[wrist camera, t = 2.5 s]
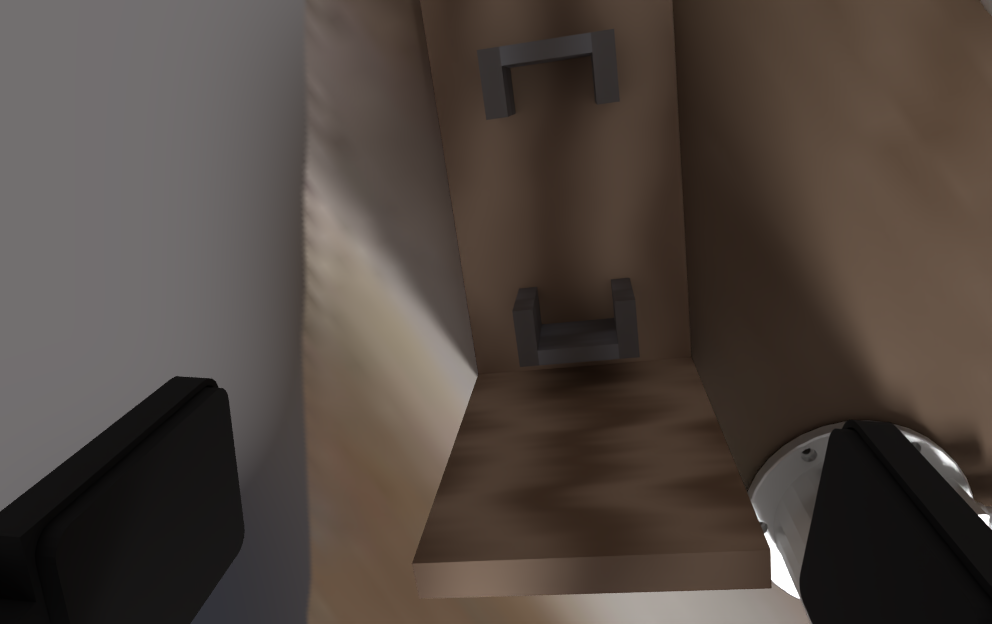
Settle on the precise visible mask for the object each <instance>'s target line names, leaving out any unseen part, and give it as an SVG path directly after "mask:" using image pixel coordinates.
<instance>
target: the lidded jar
mask: <svg viewBox="0 0 992 624" xmlns="http://www.w3.org/2000/svg"><path fill="white" fill-rule="evenodd" d="M980 2H981V3H982V5H983V6H984V8H985V10H986V11H987V12H988V13H989V14H990V15H991V16H992V0H980Z"/></svg>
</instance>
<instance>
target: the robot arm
mask: <svg viewBox="0 0 992 624" xmlns="http://www.w3.org/2000/svg"><path fill="white" fill-rule="evenodd" d="M805 449H807V450H805ZM748 496H749V498H750V501H751V503H752V506H753V508H754V510H755V513H756V515H757V518H758V520H759V523H760V525H761V527H762V530H763V532H764V535H765V537H766V540H767V542H768V544H769V547H770V549H771V581H772V582H773V583H774V584H775V585H777V586H778V587H779V588H781V589H782V590H784V591H785V592H786V593H788V594H789V595H791V596H793V597H795V598H797V599H799V600H801V602H802V605H803V607H804V609H805V612H806V614H807V616H808V619H809V621H810V623H811V624H992V506H989V507H985V506H984V504H982V503H981V502H975V501H974V500H973V494H972V491H971V488H970V486H969V483H968V480H967V478H966V476H965V475H964V473H963V472H962V470H961V469H960V467H959V466H958V464H957V463H956V462H955V461H954V460H953V459H952V458H951V457H950V456H949V455H948V454H947V453H946V452H945V451H944V450H943V449H942V448H941V447H940V446H938V445H937V444H936V443H934V442H933V441H932V440H930V439H929V438H928V437H926V436H924V435H922V434H920V433H918V432H916V431H914V430H912V429H909V428H906V427H903V426H899V425H896V424H892V423H891V422H879V421H869V420H862V421H861V420H848V421H846V422H840V423H836V424H831V425H827V426H822V427H820V428H817V429H815V430H812V431H810V432H807V433H805V434H802V435H800V436H799V437H797V438H795V439H794V440H792V441H790V442H789V443H787V444H786V445H784V446H783V447H781V448H780V449H779V450H778V451H777V452H776V453H775V454H773V455H772V456H771V457H770V458H769V459H768V460H767V461H766V463H765V464H764V465H763V466H762V468H761V469H760V470H759V471H758V473H757V474H756V476H755V478H754V480H753V482H752V484H751V486H750V488H749V490H748ZM243 539H244V521H243V512H242V504H241V496H240V488H239V480H238V472H237V464H236V456H235V447H234V439H233V431H232V423H231V416H230V407H229V400H228V394H227V392H226V390H224V389H223V388H218V385H217V383H216V381H214V380H213V379H209V378H193V377H179V376H176V377H174V378H172V379H170V380H169V381H168V382H167V383H165V384H164V385H163V386H161V387H160V388H159V389H157V390H156V391H155V392H154V393H152V394H151V395H150V396H149V397H147V398H146V399H145V400H143V401H142V402H141V403H140V404H138V405H137V406H136V407H134V408H133V409H132V410H131V411H129V412H128V413H127V414H125V415H124V416H123V417H122V418H120V419H119V420H118V421H116V422H115V423H114V424H112V425H111V426H110V427H109V428H107V429H106V430H105V431H103V432H102V433H101V434H100V435H98V436H97V437H96V438H94V439H93V440H92V441H91V442H89V443H88V444H87V445H85V446H84V447H83V448H82V449H80V450H79V451H78V452H76V453H75V454H74V455H73V456H71V457H70V458H69V459H67V460H66V461H65V462H64V463H62V464H61V465H60V466H58V467H57V468H56V469H55V470H53V471H52V472H51V473H49V474H48V475H47V476H46V477H44V478H43V479H42V480H40V481H39V482H38V483H36V484H35V485H34V486H33V487H31V488H30V489H29V490H28V491H26V492H25V493H24V494H22V495H21V496H20V497H18V498H17V499H16V500H15V501H13V502H12V503H11V504H9V505H8V506H7V507H6V508H4V509H3V510H2V511H1V512H0V624H190V623H191V622H192V620H193V619H194V617H195V616H196V615H197V613H198V611H199V610H200V609H201V607H202V606H203V604H204V603H205V601H206V600H207V598H208V597H209V595H210V594H211V593H212V591H213V590H214V588H215V587H216V585H217V584H218V582H219V581H220V579H221V578H222V576H223V575H224V573H225V572H226V571H227V569H228V568H229V566H230V565H231V563H232V562H233V560H234V559H235V557H236V556H237V554H238V553H239V551H240V549H241V546H242V543H243Z"/></svg>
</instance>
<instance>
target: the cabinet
mask: <svg viewBox="0 0 992 624" xmlns="http://www.w3.org/2000/svg"><path fill="white" fill-rule="evenodd" d="M420 4H421V10H422V17H423V23H424V30H425V36H426V42H427V49H428V55H429V62H430V68H431V74H432V81H433V87H434V94H435V100H436V106H437V113H438V119H439V126H440V132H441V138H442V145H443V151H444V158H445V164H446V170H447V177H448V183H449V190H450V196H451V202H452V209H453V215H454V221H455V228H456V234H457V241H458V247H459V253H460V260H461V266H462V273H463V279H464V285H465V292H466V298H467V305H468V311H469V317H470V324H471V330H472V337H473V343H474V349H475V356H476V362H477V369H478V377H477V380H476V383H475V386H474V389H473V391H472V394H471V397H470V400H469V403H468V406H467V408H466V411H465V414H464V417H463V420H462V423H461V426H460V428H459V431H458V434H457V437H456V440H455V443H454V446H453V448H452V451H451V454H450V457H449V460H448V463H447V466H446V468H445V471H444V474H443V477H442V480H441V483H440V486H439V488H438V491H437V494H436V497H435V500H434V503H433V505H432V508H431V511H430V514H429V517H428V520H427V523H426V525H425V528H424V531H423V534H422V537H421V540H420V543H419V545H418V548H417V551H416V554H415V557H414V560H413V563H412V566H413V570H414V575H415V580H416V585H417V590H418V595H419V599H428V598H462V597H495V596H529V595H562V594H596V593H630V592H663V591H697V590H730V589H764V588H771V549H770V547H769V544H768V542H767V540H766V537H765V535H764V532H763V530H762V527H761V525H760V523H759V520H758V518H757V515H756V513H755V510H754V508H753V506H752V503H751V501H750V498H749V496H748V493H747V491H746V489H745V486H744V484H743V481H742V479H741V476H740V474H739V472H738V469H737V467H736V464H735V462H734V459H733V457H732V454H731V452H730V450H729V447H728V445H727V442H726V440H725V437H724V435H723V433H722V430H721V428H720V425H719V423H718V420H717V418H716V416H715V413H714V411H713V408H712V406H711V403H710V401H709V399H708V396H707V394H706V391H705V389H704V386H703V384H702V382H701V379H700V377H699V374H698V372H697V369H696V367H695V365H694V362H693V360H692V357H691V338H690V319H689V301H688V282H687V264H686V245H685V226H684V208H683V189H682V171H681V152H680V133H679V115H678V96H677V78H676V59H675V40H674V22H673V3H672V0H420Z"/></svg>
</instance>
